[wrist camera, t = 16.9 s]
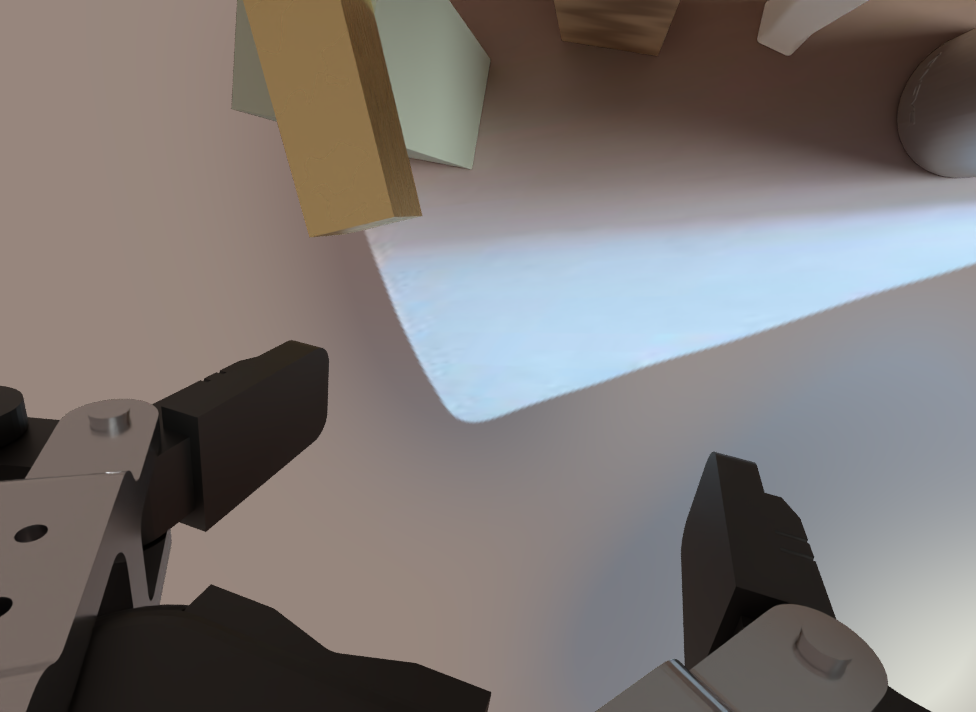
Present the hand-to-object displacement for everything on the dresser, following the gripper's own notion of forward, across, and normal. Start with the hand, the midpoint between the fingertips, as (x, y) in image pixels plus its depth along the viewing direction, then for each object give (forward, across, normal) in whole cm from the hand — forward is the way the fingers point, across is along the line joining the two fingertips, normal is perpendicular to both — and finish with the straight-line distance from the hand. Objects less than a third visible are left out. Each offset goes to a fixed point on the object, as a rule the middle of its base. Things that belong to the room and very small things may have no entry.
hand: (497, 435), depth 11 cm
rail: (+13, +12, -8) cm, 20 cm away
